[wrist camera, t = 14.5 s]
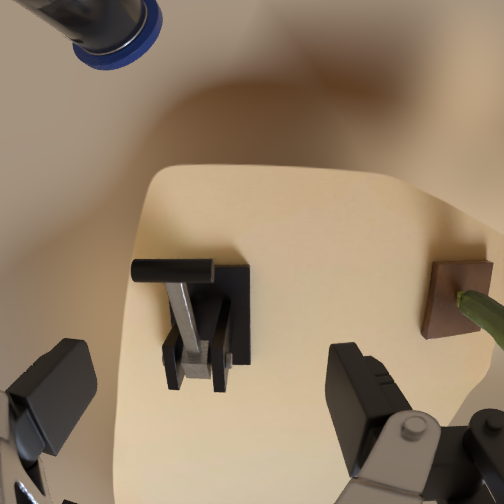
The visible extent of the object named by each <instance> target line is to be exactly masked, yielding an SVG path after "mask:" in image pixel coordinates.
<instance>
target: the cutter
mask: <svg viewBox="0 0 504 504" xmlns="http://www.w3.org/2000/svg"><path fill="white" fill-rule="evenodd" d="M186 285H187V289H188V294H189V298H190V302H191V306H192V311H193V315H194V319H195V323H196V327H197V331H198V335H199V339H200V340H206V341H209V343H210V348H211V361H212V374H213V386H214V392H226V386H227V378H228V370H229V369H231V368H232V365H250V364H251V341H250V265H214V282H213V283H186ZM169 304H170V315H171V324H172V329H171V330H170V332H169V334H168V336H167V338H166V340H165V342H164V344H163V345H162V352H163V355H162V362H163V365H164V366H165V371H166V378H167V384H168V389H169V390H179V389H180V386H181V384H182V381H183V378H184V375H185V373H184V370H183V368H182V366H181V357H182V350H183V340H182V337H181V334H180V331H179V328H178V325H177V322H176V319H175V316H174V313H173V309H172V306H171V303H170V300H169Z"/></svg>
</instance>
